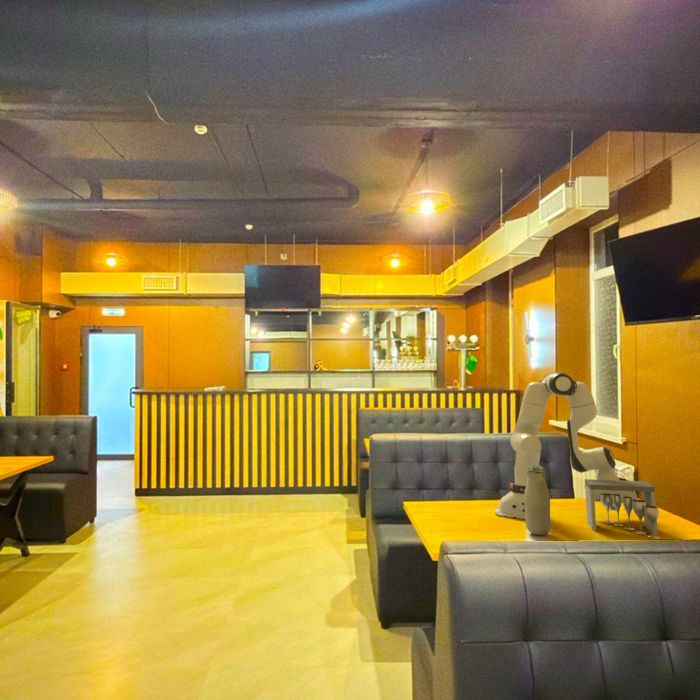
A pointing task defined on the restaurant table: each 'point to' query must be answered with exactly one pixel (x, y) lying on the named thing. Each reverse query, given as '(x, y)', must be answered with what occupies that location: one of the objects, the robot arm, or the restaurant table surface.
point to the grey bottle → (537, 501)
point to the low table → (617, 485)
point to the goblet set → (630, 509)
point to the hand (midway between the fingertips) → (614, 509)
